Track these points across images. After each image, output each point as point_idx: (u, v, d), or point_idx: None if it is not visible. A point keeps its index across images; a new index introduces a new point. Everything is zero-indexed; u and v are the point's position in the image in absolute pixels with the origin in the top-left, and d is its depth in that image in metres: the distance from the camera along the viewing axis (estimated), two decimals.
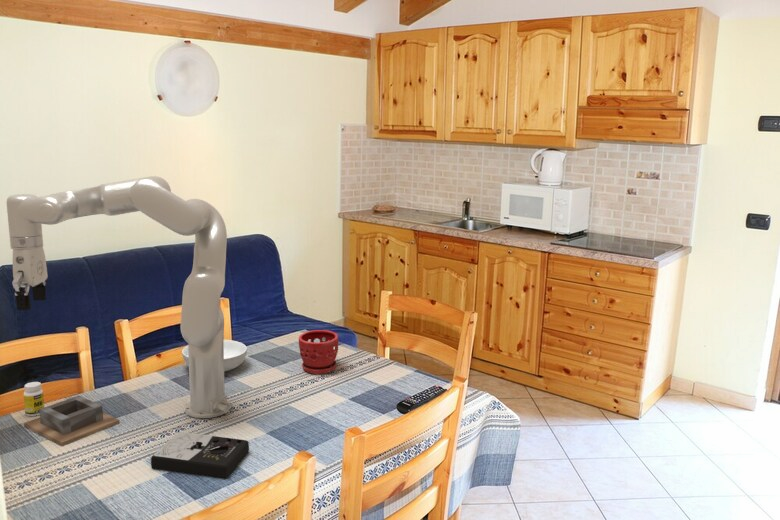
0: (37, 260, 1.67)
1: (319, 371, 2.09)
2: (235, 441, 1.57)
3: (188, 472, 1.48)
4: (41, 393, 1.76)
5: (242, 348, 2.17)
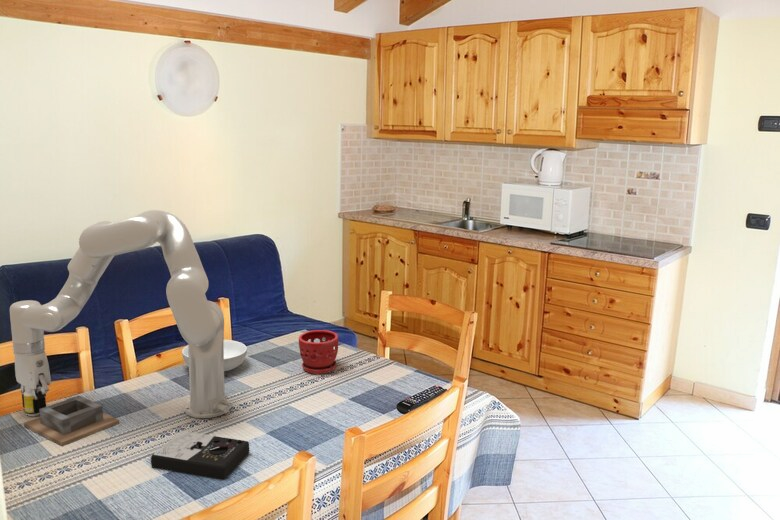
0: None
1: (319, 371, 2.09)
2: (235, 442, 1.57)
3: (187, 472, 1.48)
4: None
5: (242, 348, 2.17)
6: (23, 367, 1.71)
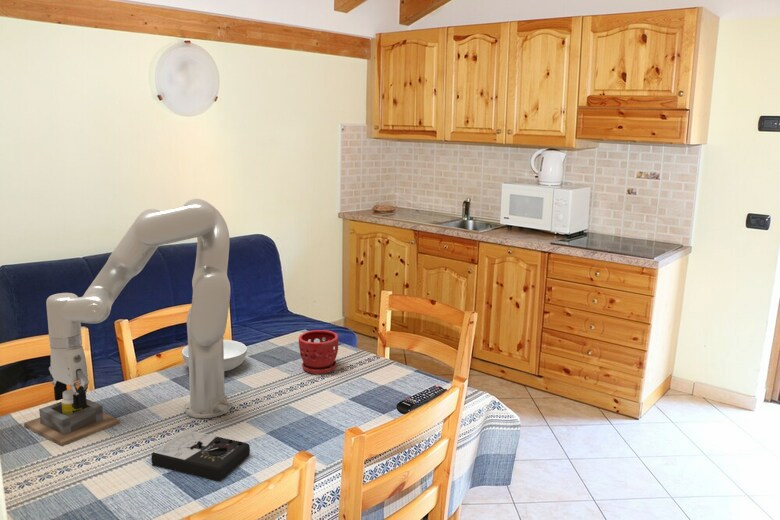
0: None
1: (319, 371, 2.09)
2: (236, 444, 1.56)
3: (184, 471, 1.48)
4: None
5: (242, 348, 2.17)
6: (60, 362, 1.64)
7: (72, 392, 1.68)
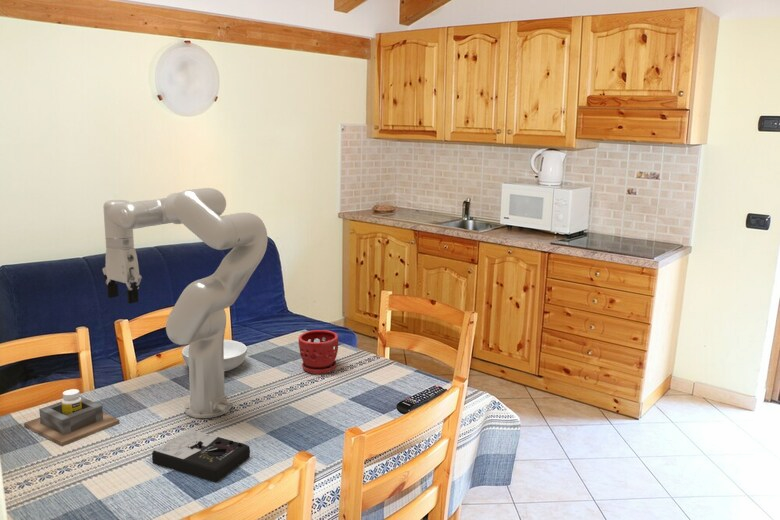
0: None
1: (319, 371, 2.09)
2: (236, 445, 1.55)
3: (183, 471, 1.48)
4: (79, 401, 1.69)
5: (242, 348, 2.17)
6: (115, 261, 1.84)
7: (72, 392, 1.68)
